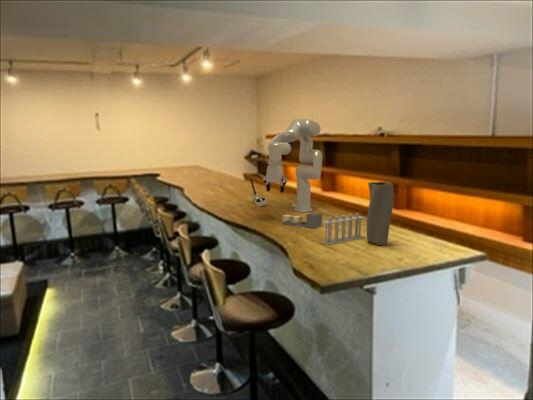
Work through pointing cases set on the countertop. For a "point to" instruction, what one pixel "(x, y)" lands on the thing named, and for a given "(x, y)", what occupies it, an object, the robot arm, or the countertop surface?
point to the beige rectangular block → (292, 219)
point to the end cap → (314, 220)
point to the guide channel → (295, 224)
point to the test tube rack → (336, 221)
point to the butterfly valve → (258, 197)
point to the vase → (379, 212)
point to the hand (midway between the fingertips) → (275, 191)
